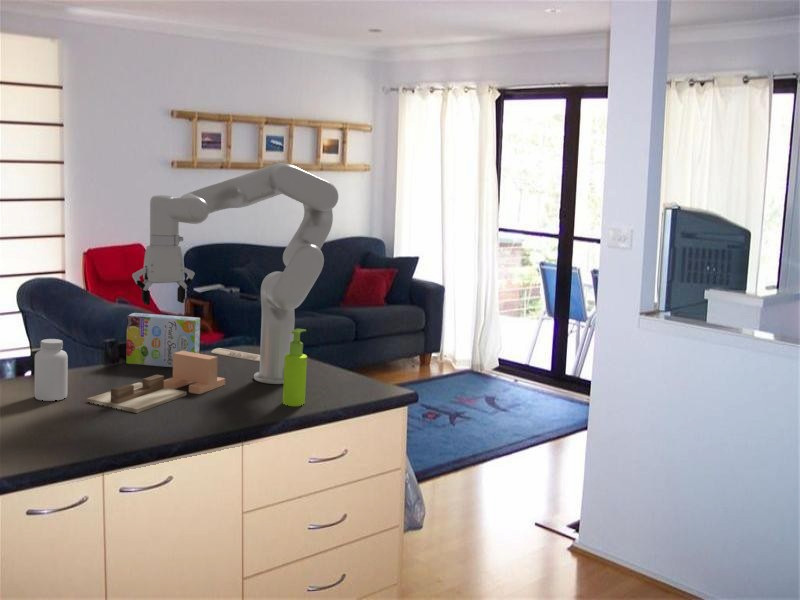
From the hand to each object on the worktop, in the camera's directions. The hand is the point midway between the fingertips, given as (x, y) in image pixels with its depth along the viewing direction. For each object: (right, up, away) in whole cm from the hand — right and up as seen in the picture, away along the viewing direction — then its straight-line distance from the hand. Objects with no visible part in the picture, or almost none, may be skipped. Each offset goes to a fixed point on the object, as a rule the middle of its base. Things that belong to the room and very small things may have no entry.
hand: (163, 303), depth 253 cm
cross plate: (+8, -23, +4) cm, 25 cm away
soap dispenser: (+37, -27, -6) cm, 46 cm away
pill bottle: (-25, -25, -16) cm, 38 cm away
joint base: (-4, -25, -12) cm, 28 cm away
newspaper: (+16, -18, +41) cm, 48 cm away
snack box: (-7, -19, +25) cm, 32 cm away
